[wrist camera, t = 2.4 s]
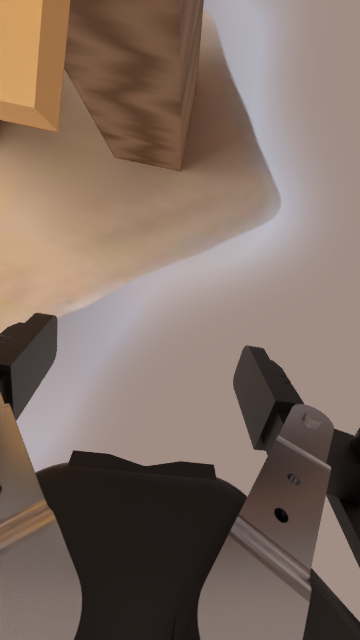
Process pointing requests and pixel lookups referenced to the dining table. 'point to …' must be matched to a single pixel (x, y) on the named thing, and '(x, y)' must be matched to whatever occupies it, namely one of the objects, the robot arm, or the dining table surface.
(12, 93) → the block
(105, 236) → the dining table surface
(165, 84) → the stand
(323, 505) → the robot arm
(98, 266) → the dining table surface
